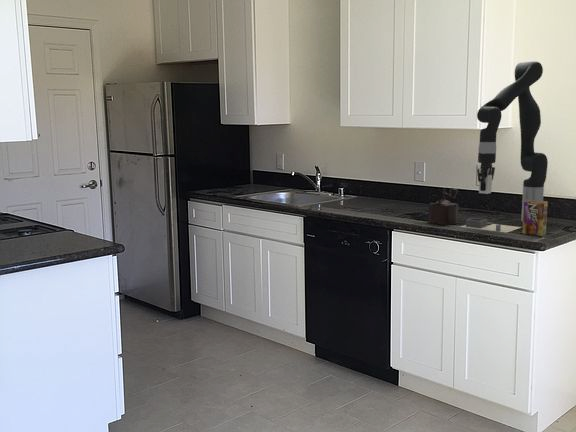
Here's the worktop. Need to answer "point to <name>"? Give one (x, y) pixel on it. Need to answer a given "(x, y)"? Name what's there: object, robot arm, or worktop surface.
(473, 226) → the board
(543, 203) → the candy box
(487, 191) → the plug
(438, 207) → the manual coffee grinder
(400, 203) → the worktop surface
